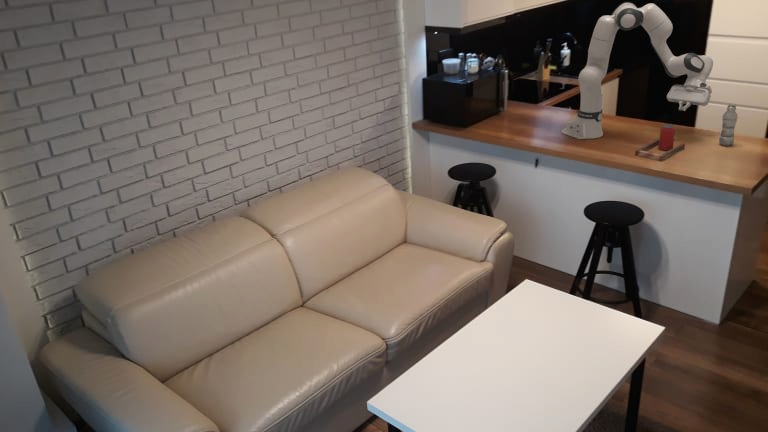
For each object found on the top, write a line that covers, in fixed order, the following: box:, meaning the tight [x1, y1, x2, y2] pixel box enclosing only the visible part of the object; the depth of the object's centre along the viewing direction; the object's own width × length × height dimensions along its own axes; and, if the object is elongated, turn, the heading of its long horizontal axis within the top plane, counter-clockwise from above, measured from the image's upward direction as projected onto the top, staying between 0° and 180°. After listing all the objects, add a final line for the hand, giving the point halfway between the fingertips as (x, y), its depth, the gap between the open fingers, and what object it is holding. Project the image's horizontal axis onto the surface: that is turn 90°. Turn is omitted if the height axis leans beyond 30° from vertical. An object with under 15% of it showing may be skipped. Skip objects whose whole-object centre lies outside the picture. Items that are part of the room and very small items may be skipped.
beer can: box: [658, 123, 676, 152], centre depth 306 cm, size 7×7×12 cm
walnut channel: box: [635, 138, 686, 162], centre depth 305 cm, size 14×22×2 cm, turn 129°
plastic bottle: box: [718, 104, 738, 146], centre depth 301 cm, size 6×7×20 cm
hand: (681, 110), depth 308 cm, fingers closed
